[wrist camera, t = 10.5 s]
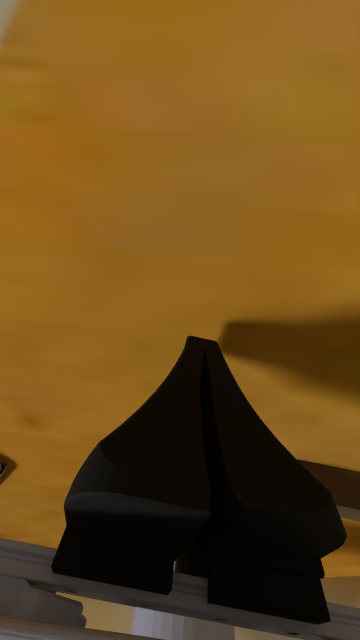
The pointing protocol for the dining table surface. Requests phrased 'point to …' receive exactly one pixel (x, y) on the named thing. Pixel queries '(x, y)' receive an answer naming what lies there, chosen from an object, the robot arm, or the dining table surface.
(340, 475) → the grey u-shaped frame
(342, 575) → the dining table surface
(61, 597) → the robot arm
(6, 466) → the newspaper
